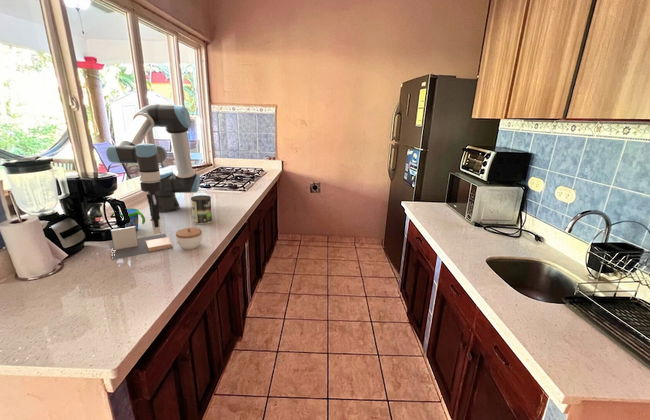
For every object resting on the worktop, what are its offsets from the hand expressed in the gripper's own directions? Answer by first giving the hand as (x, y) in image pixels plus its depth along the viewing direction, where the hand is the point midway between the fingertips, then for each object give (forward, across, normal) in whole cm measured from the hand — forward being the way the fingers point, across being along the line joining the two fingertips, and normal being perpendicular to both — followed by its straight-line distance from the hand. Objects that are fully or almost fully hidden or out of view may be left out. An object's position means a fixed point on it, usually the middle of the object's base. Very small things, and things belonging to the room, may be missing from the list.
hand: (157, 233), depth 135 cm
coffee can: (+7, -26, +26) cm, 37 cm away
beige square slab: (+6, -5, 0) cm, 7 cm away
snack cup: (+7, -30, -9) cm, 32 cm away
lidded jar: (+7, +7, +12) cm, 15 cm away
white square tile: (+7, -6, -12) cm, 15 cm away
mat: (+7, -5, -6) cm, 11 cm away
